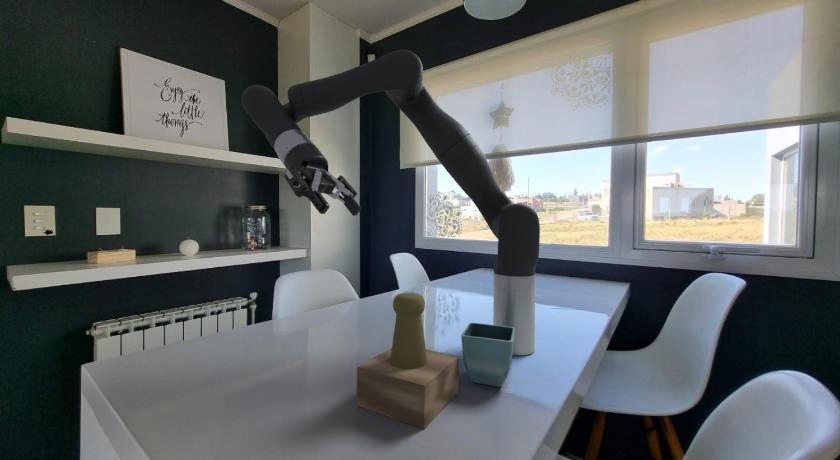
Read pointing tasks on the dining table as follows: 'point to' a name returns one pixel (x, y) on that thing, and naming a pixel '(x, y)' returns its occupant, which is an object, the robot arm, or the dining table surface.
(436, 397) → the walnut block
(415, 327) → the cork
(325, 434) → the dining table surface
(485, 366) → the flower pot
